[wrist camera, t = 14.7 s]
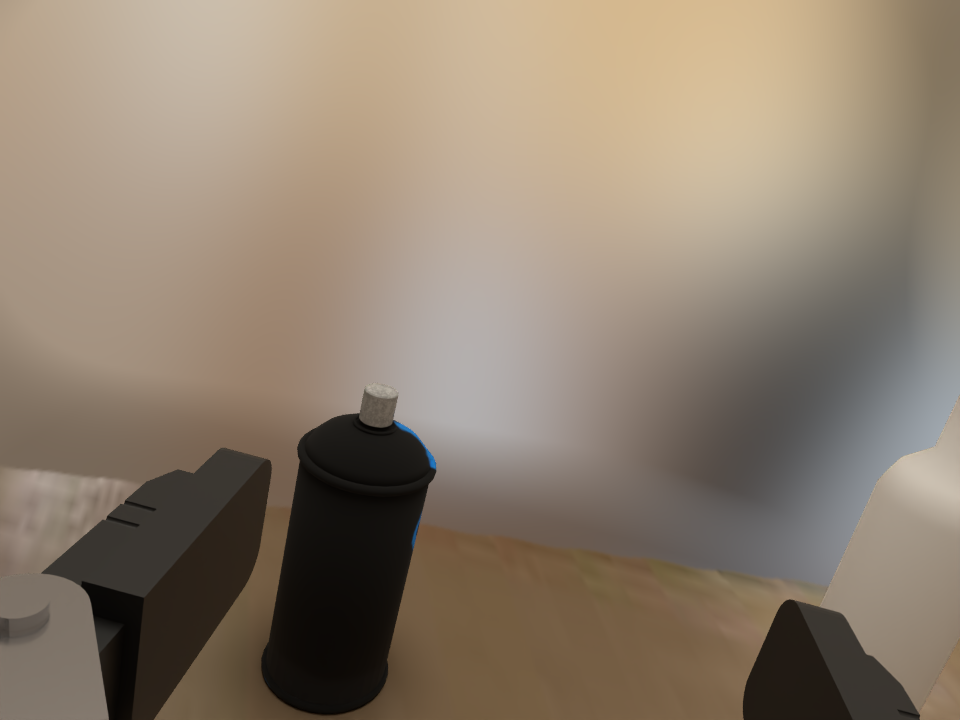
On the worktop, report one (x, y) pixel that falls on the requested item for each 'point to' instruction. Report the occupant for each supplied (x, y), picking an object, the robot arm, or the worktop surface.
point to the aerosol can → (346, 556)
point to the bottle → (907, 566)
